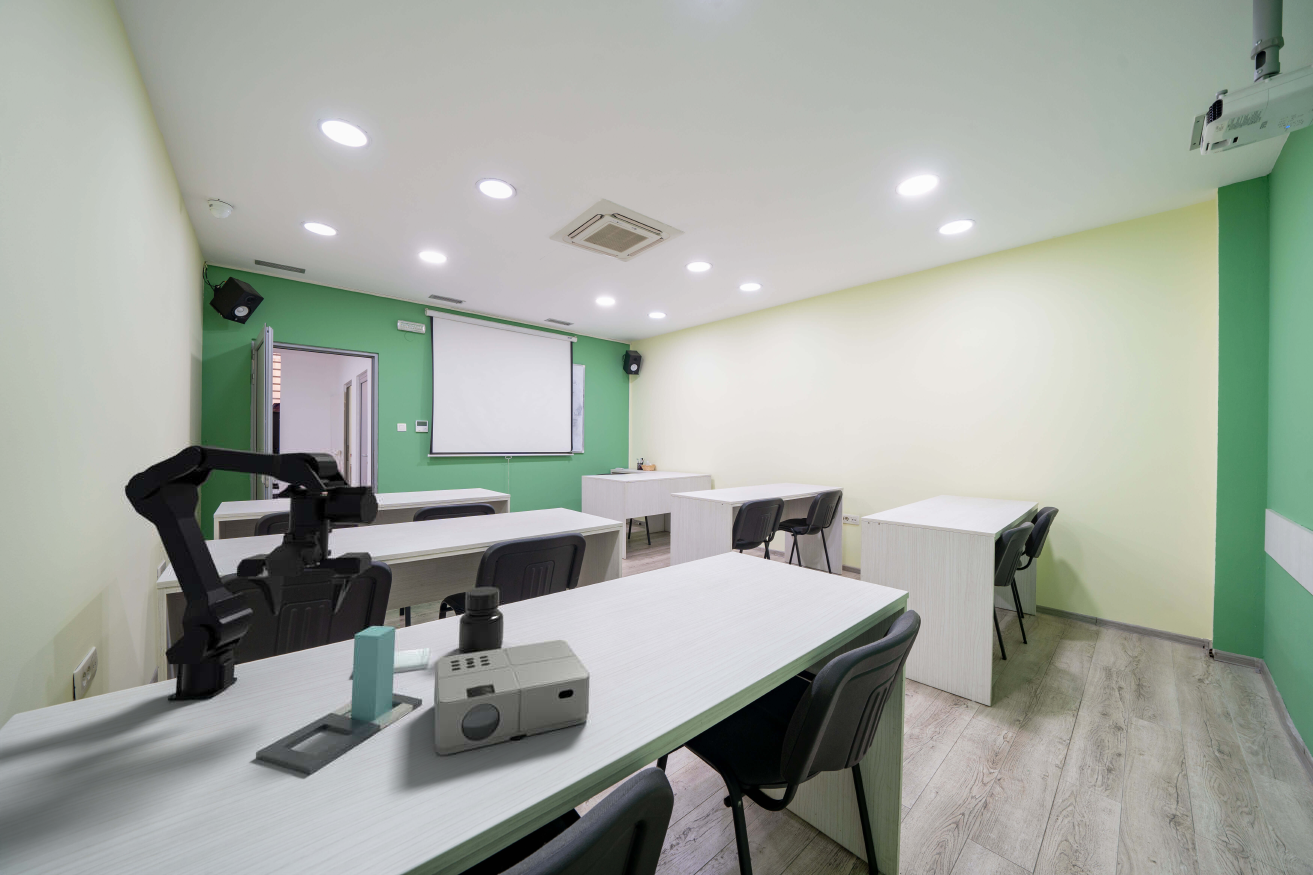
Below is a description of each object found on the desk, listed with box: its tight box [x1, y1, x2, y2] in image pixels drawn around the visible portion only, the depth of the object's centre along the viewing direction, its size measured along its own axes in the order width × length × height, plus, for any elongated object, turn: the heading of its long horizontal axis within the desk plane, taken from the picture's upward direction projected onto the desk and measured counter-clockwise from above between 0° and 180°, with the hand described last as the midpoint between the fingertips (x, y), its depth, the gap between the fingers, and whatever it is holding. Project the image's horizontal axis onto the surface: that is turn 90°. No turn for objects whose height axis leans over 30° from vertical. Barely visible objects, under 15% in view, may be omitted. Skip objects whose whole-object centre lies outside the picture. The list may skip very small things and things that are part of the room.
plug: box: [350, 625, 396, 722], centre depth 75 cm, size 4×4×13 cm
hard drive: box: [394, 647, 431, 674], centre depth 93 cm, size 2×8×12 cm
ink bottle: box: [458, 586, 505, 654], centre depth 102 cm, size 10×9×12 cm
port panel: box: [255, 692, 423, 776], centre depth 71 cm, size 18×10×1 cm, turn 162°
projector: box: [433, 639, 590, 756], centre depth 77 cm, size 17×22×8 cm
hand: (305, 613), depth 83 cm, fingers open, 9 cm apart
